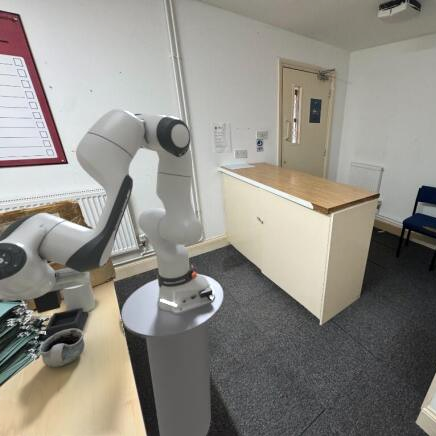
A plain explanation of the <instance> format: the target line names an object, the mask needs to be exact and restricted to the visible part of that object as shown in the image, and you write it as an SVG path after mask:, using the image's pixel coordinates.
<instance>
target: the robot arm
mask: <svg viewBox="0 0 436 436" xmlns="http://www.w3.org/2000/svg"><path fill="white" fill-rule="evenodd" d="M190 145H191V133H190V129H189V127H188V125H187V124H186V122H185V121H184V120H182V119H181V118H179V117H175V116H173V115H163V114H158V113H149V114H148V113H147V114H146V113H145V114H143V113H134V114H133V113H131V112H129V111H127V110H124V109H121V108H114V109H113V108H112V109H111V110H108V111H107V112H106V113H105V114H103V115H102V116H101V117H100V118H99V119H98V120H97V121H96V122H94V124H93V125H92V126H91V127H90V128H89V129H88V131H87V132H86V133H85V134H84V135H83V137H82V138H81V140H80V141H79V143H78V145H77V147H76V149H75V156H76V160H77V162H78V164H79V166H80V167H81V168H82V169H83V170H84V172H86V174H87V175H88V176H89V177H91V178H92V179H93V180H94V181H95V182H97V184H98V185H100V186H101V187H102V188H103V190H104V192H105V193H106V201H105V204H104V206H103V209H102V211H101V214H100V216H99V218H98V221H97V223H96V226H95V228H89V227H86V226H84V225H80V224H78V223H75V222H72V221H70V220H69V219H65V218H62V217H59V216H56V215H53V214H51V213H47V212H35V213H32V214H29V215H26V216H23V217H21V218H18V219H16V220H15V221H14V222H12V223H11V224H10V225H9V226H8V227H6V229H5V230H3V232H2V233H1V235H0V304H2V303H6V302H13V301H15V302H16V301H28V300H34V298H37V297H40V296H42V295H44V294H45V293H47V292H51V291H60V292H61V291H62V290H64V289H65V288H69V287H74V286H78V285H83V284H86V283H89V282H91V276H90V274H91V273H90V272H93V271H95V270H98V269H101V268H102V267H103V266H104V265H105V264H106V263H107V262H108V261H109V259H110V257H111V256H112V253H113V250H114V249H113V248H114V244H115V241H116V238H117V235H118V231H119V228H120V225H121V223H122V221H123V218H124V216H125V213H126V210H127V207H128V204H129V201H130V198H131V196H132V192H133V188H134V180H133V178H132V176H131V175H130V166H131V164H132V161H133V160H134V159H135V157H136V155H137V153H138V151H139V150H140V149H144V150H147V151H148V150H149V151H153V152H156V154H157V157H158V162H157V163H158V164H157V173H156V189H155V190H156V191H155V193H156V196H157V197H158V199H159V200H160V201H161V203H162V205H163V208H162V207H151V208H149V207H148V208H146V209H145V210H143V211H142V212H140V214H139V216H138V220H137V223H138V227H139V229H140V230H141V231H142V233H144V235H145V236H146V237H147V239H148V240H149V242H150V244H151V247H152V249H153V251H154V253H155V257H156V263H157V269H158V271H157V279H158V284H159V297H158V301H157V305H158V307H159V308H160V309H162V310H165V311H170V312H172V313H174V314H180V313H183V312H186V311H188V310H191V309H194V308H197V307H199V306H202V305H205V304H208V303H210V302H213V301H214V299H215V290H214V288H213V286H212V285H211V284H210V283H209V282H208V281H207V279H206V278H205V277H204V276H202V275H203V274H201V275H199V274H200V273H197V272H196V270H195V268H194V266H193V265H190V255H189V250H188V249H187V247H186V246H193V245H196V244H197V243H198V242H199V241H201V239H202V237H203V234H204V225H203V223H202V222H201V220H200V219H199V218H198V216H197V214H196V213H195V210H194V208H193V204H192V197H191V196H192V195H191V194H192V192H191V191H192V179H193V178H192V177H193V157H192V151H191V149H190ZM48 261H49V262H53V263H55V264H59V265H61V266H65V267H66V268H62V269H57V270H55V269H54V268H53V267H52V266H51V265H50V264H49V263H48Z"/></svg>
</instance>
